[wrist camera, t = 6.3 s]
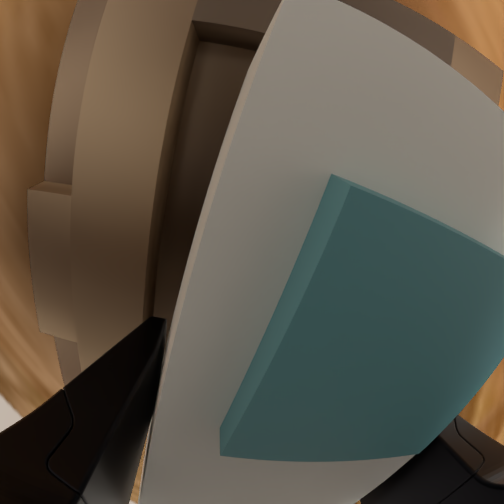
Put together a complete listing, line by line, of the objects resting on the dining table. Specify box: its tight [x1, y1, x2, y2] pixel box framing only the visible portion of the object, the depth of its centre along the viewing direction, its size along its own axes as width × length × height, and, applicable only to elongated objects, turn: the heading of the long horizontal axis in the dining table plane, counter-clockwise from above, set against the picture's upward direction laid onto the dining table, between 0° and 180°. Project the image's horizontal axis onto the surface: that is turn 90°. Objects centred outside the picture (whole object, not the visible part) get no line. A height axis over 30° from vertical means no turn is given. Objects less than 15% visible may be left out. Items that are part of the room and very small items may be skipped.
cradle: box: [27, 0, 503, 386], centre depth 9 cm, size 16×14×3 cm
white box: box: [138, 0, 504, 504], centre depth 6 cm, size 12×4×5 cm, turn 161°
